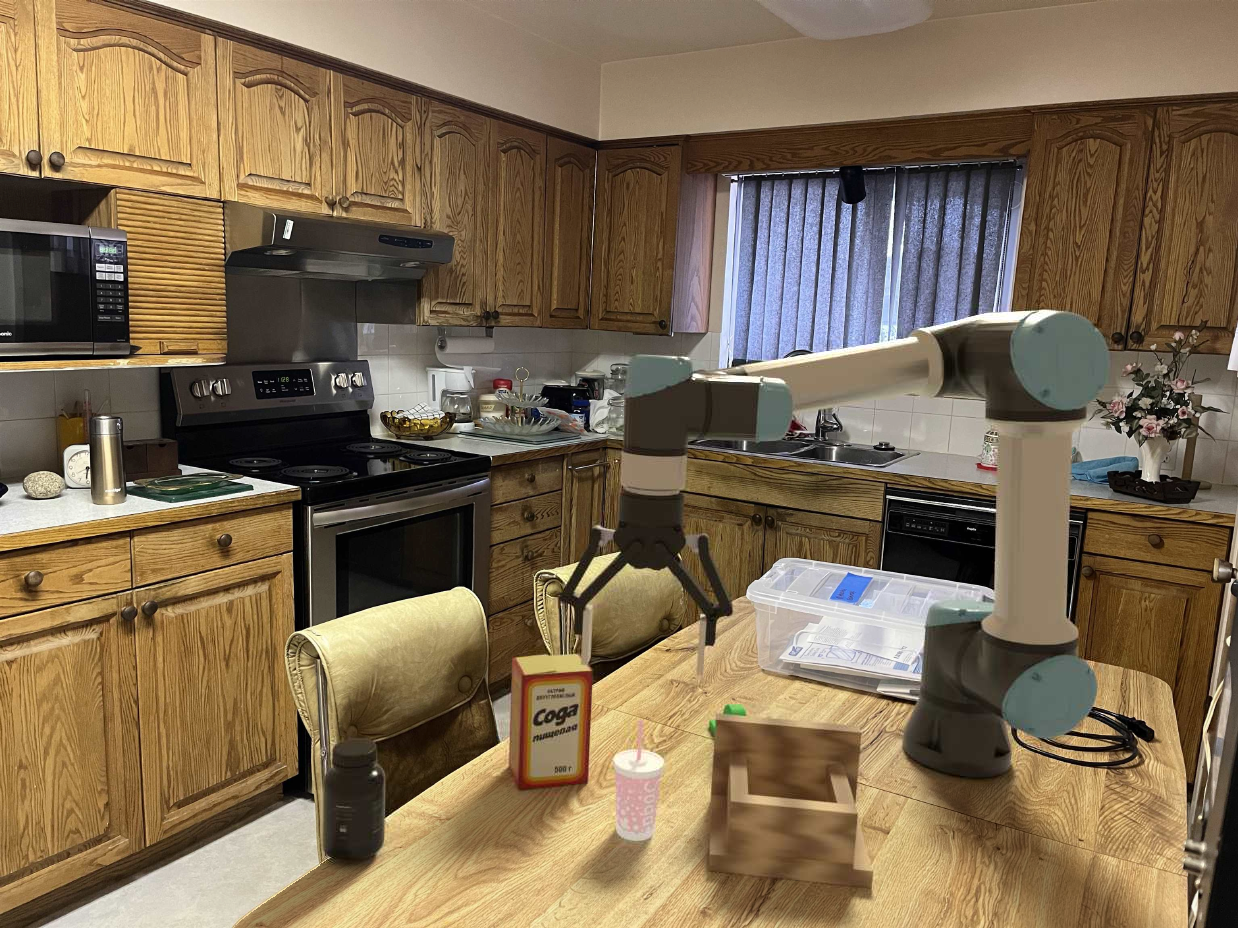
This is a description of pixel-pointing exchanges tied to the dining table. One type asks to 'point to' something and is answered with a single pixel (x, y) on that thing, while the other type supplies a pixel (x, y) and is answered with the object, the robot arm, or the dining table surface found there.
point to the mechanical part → (730, 710)
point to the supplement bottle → (353, 802)
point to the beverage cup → (637, 791)
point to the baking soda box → (550, 720)
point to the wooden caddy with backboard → (787, 801)
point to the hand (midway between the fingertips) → (642, 666)
